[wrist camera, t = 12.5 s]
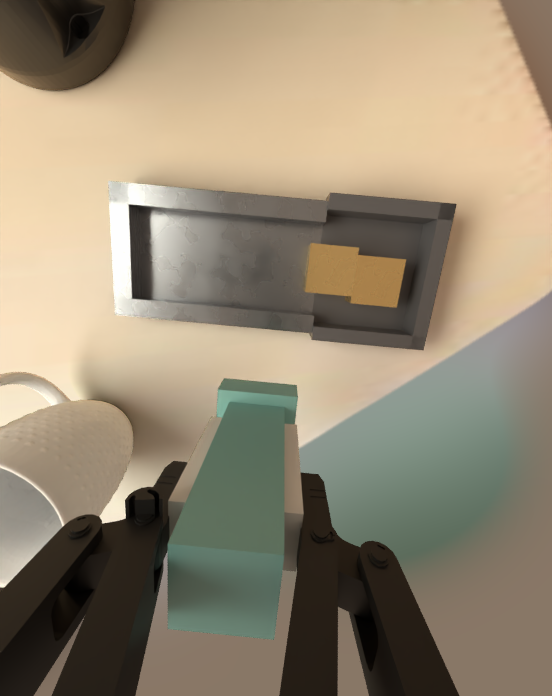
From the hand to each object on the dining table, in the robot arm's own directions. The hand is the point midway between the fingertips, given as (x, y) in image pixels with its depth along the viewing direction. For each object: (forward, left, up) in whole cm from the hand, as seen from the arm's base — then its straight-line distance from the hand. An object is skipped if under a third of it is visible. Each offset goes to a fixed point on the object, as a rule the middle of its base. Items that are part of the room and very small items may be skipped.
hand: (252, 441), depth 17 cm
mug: (+8, -18, -14) cm, 24 cm away
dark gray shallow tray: (-10, -5, -13) cm, 18 cm away
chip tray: (-10, +9, -13) cm, 19 cm away
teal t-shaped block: (0, 0, -4) cm, 4 cm away
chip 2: (-10, +9, -13) cm, 18 cm away
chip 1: (-10, +5, -13) cm, 17 cm away
